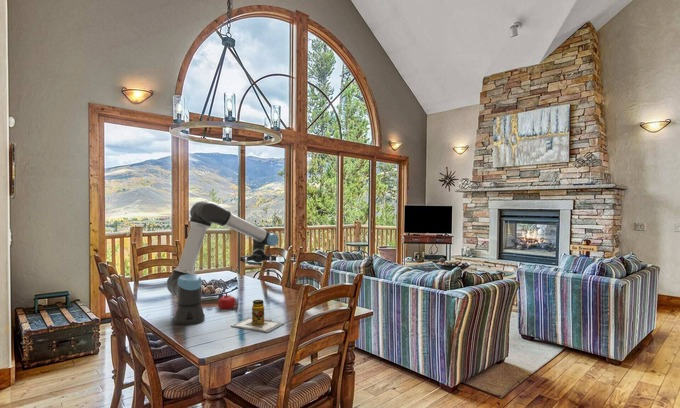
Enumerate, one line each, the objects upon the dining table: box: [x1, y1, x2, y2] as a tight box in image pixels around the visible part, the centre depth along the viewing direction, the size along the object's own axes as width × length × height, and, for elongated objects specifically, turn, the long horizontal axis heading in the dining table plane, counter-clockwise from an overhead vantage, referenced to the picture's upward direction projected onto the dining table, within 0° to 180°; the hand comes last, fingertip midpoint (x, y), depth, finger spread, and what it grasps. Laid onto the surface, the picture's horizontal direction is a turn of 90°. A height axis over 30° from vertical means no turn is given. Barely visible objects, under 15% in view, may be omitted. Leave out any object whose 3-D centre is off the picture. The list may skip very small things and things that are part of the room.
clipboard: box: [230, 317, 285, 334], centre depth 198 cm, size 22×15×2 cm
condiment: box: [247, 299, 268, 327], centre depth 198 cm, size 7×8×12 cm
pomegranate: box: [217, 292, 237, 310], centre depth 228 cm, size 10×10×9 cm
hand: (258, 261), depth 216 cm, fingers open, 13 cm apart
